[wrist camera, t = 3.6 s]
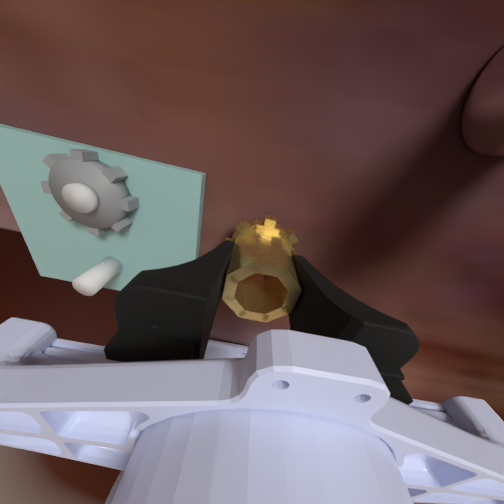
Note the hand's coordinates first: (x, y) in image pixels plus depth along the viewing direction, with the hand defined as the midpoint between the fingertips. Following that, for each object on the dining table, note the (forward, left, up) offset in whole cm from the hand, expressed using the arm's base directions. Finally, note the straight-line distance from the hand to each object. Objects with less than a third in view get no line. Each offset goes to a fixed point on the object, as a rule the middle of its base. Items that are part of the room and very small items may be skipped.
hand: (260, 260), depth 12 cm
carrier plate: (-2, +12, -3) cm, 13 cm away
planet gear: (0, 0, -2) cm, 2 cm away
